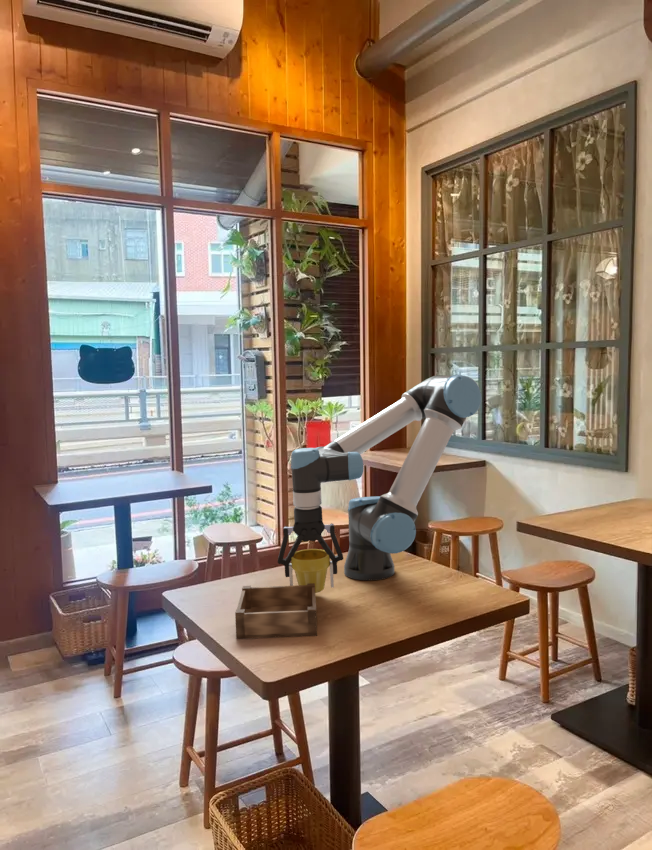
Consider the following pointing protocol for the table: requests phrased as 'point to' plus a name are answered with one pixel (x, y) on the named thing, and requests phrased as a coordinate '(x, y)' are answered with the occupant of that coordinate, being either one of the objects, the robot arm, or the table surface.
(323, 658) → the table surface
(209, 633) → the table surface
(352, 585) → the table surface
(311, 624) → the walnut crate
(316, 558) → the plant pot
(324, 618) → the table surface
